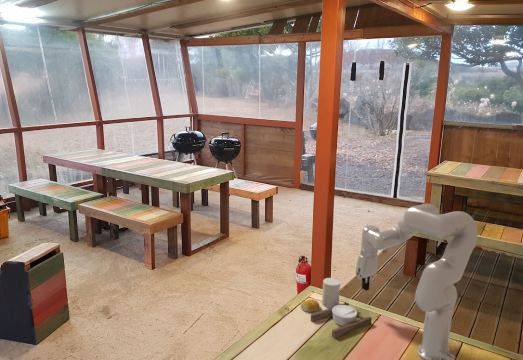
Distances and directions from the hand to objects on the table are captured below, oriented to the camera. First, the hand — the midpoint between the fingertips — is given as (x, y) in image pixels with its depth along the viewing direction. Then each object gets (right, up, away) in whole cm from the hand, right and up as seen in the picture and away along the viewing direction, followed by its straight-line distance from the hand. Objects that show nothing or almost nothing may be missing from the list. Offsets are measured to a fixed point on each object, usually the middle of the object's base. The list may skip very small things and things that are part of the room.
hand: (365, 289), depth 198 cm
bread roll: (-25, -11, +6) cm, 28 cm away
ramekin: (-11, -14, -5) cm, 18 cm away
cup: (-15, -10, +10) cm, 21 cm away
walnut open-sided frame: (-13, -14, -6) cm, 19 cm away
